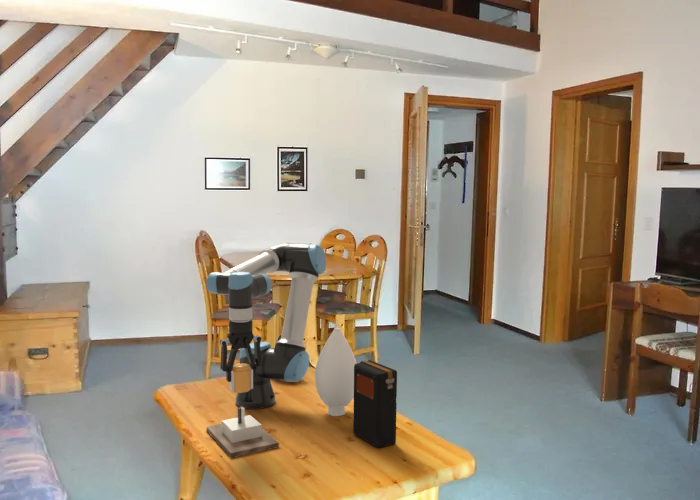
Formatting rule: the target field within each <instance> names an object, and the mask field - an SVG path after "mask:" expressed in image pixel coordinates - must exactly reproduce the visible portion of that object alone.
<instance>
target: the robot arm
mask: <svg viewBox="0 0 700 500" xmlns="http://www.w3.org/2000/svg"><path fill="white" fill-rule="evenodd" d="M326 268H327V256H326V253H325V250H324V248H323V247H322V246H321V245H320V244H314V243H311V242H310V243H301V242H300V243H299V242H298V243H295V242H294V243H293V242H284V243H279V244H278V243H277V244H275V245H273V246H269V247H268V248H265V249H263V250H261V251H260V252H259V253H258V255H257V256H254V257H253V258H250V259H248V260H246V261H244V262H242V263H240V264H238V265H236V266H234V267H232V268H229V269H227V270H225V271H223V272H219V271H216V272H215V271H214V272H213V271H212V272H210V273H209V274H208V276H207V278H206V282H205V283H206V289H207V291H208V292H209V293H210V294H215V295H218V296H220V295H221V296H223V295H224V296H228V319H229V321H228V336H227V338H225V339H220V340H219V343H220V344H219V345H220V347H221V349H220V365H219V366H220V370H222V372H226V373H225V374H226V375H225V377H226V381H227V382H228V389H229V391H230V392H231V393H235V392H234V372H233V371H232V368H233V365H234V364H235V360H236V358H237V354H238V352H240V353H239V364H240V363H244V364H249V365H250V369H251V390H249V391H248V392H243V393H236V395H235V405H236V406H237V407H238V408H240V407H243V408H245V409H248V410H258V409H259V410H260V409H265V408H267V407H272V405H274V404H275V403H276V395H275V392H274V389H273V386H272V382H271V380H275V381H277V380H278V381H284V382H287V383H289V382H290V383H291V382H292V383H296V382H300V381H301V380H302V379H303V378H304V377H305V376H306V374H307V372H308V368H309V365H310V355H309V353H308V352H307V351H306V348H307V347H306V346H305V344H304V339H305V338H304V337H305V330H306V326H307V319H308V316H309V309H310V303H311V298H312V293H313V288H314V287H313V286H314V283H315V282H317V281H318V280H319V276H320V275H322V274H324V273H325V271H326ZM275 272H289V273H288V275H289V276H290V278H291V282H290V287H289V293H288V299H287V304H286V309H285V313H284V319H283V324H282V329H281V336H280V339H279V340H277V341H276V342H275V345H274V347H272V344H271V343H270V342H269V341H262V337H261V336H259V335H254V334H253V320H252V319H253V299H256V298H260V297H264V296H265V295H268V294H269V293H270V292H271V291H272V288H273V281H272V279H271V277H270V276H269V275H268V274H272V273H275ZM252 341H253V342H252ZM229 343H230V344H231V347H230V352H229V355H228V347H229Z"/></svg>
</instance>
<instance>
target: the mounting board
mask: <svg viewBox="0 0 700 500" xmlns="http://www.w3.org/2000/svg"><path fill="white" fill-rule="evenodd" d="M207 431H208V432H209V433H210V434H211V435H212V436H211V435H210V434H209V433H208V432H207ZM206 432H207V433H208V434H209V435H210V436H211V438H214V439H215V440H216V441H217V442H216V441H215V440H214V439H213V440H214V441H215V442H216V443H217V444H218V445H219V446H220V448H221V447H222V448H221V449H222V450H223V451H224V453H226V454H227V456H228V457H229V456H230V457H233V458H236V457H235V456H237V457H241V455H242V456H245V455H246V456H247V455H249V454H254V453H258V452H264V451H266V450H267V451H268V450H272V449H276V448H280V447H279V445H280V443H279V442H278V441H277V440H276V438H274V437H273V436H272V435H271V434H270V433H268V431H266V430H265V429H264V428H263V427H262V426H261V437H258V438H253V439H248V440H244V441H239V442H234V443H232V442H231V441H230V440H229V439H228V438H227V437H226V436H225V435H224V434H223V433H222V423H218V424H213V425H209V426H206ZM230 457H229V458H230Z"/></svg>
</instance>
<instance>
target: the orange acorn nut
mask: <svg viewBox="0 0 700 500" xmlns="http://www.w3.org/2000/svg"><path fill="white" fill-rule="evenodd" d="M232 371H233V372H234V392H233V393H236V394H237V393H243V392H248V391H249V390H251V369H250V365H249V364H244V363H240V362H239V363H234V365H233V368H232Z"/></svg>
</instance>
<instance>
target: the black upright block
mask: <svg viewBox="0 0 700 500" xmlns="http://www.w3.org/2000/svg"><path fill="white" fill-rule="evenodd" d="M397 390H398V371H397V370H396V369H394V368H391V367H389V366H386V365H383V364H380V363H379V362H377V361H374V360H371V359H370V360H369V359H368V360H361V361H360V362H357V363H356V364H355V365H354V397H353V424H352V426H353V429H352V430H353V431H352V432H353V434H354V435H355V436H356V437H359V438H360V439H363V440H364V441H366V442H368V443H369V444H370V445H373V446H374V447H376V448H379V449H380V448H383V447H386V446H390V445H392V446H393V445H396V443H397V442H396V441H397V397H398V396H397V395H398V394H397V392H398V391H397Z"/></svg>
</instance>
